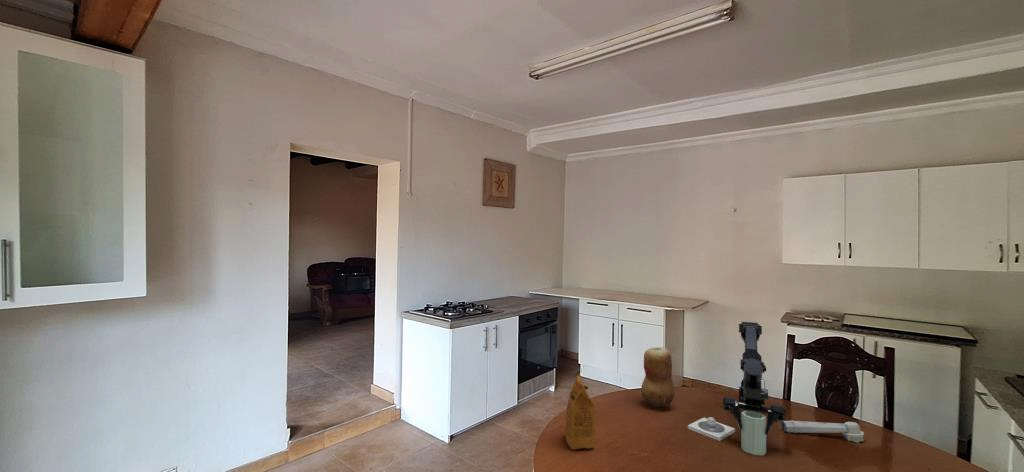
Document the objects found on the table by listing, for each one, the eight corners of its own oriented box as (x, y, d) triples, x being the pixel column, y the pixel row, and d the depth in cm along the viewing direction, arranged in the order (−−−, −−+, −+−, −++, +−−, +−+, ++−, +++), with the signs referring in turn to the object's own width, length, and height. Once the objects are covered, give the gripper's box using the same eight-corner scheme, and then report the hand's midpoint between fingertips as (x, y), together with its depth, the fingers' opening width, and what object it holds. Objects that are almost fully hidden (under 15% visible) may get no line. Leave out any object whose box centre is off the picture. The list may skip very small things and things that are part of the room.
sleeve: (747, 443, 145) (747, 409, 145) (768, 451, 140) (768, 415, 140) (738, 449, 141) (738, 413, 141) (760, 457, 135) (760, 420, 136)
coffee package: (590, 434, 150) (591, 374, 151) (597, 451, 138) (598, 386, 138) (563, 433, 150) (564, 373, 151) (567, 451, 138) (568, 385, 138)
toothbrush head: (779, 418, 158) (857, 417, 150) (782, 435, 157) (860, 436, 150) (784, 423, 152) (864, 423, 145) (787, 442, 152) (868, 442, 145)
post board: (703, 420, 163) (703, 408, 163) (735, 431, 154) (735, 418, 154) (687, 428, 156) (687, 415, 156) (719, 441, 146) (719, 427, 146)
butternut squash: (635, 401, 182) (636, 344, 182) (662, 398, 185) (662, 343, 186) (653, 414, 169) (653, 353, 169) (682, 411, 172) (682, 351, 172)
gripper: (723, 373, 148) (722, 415, 138) (785, 382, 139) (788, 428, 130) (723, 388, 155) (722, 429, 145) (782, 398, 146) (785, 442, 136)
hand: (753, 432), depth 139 cm, fingers closed on sleeve, 7 cm apart
